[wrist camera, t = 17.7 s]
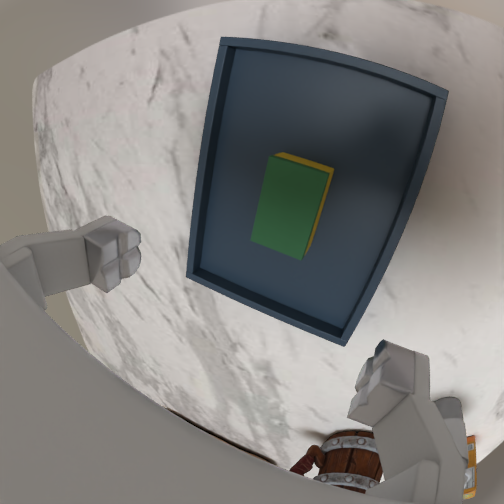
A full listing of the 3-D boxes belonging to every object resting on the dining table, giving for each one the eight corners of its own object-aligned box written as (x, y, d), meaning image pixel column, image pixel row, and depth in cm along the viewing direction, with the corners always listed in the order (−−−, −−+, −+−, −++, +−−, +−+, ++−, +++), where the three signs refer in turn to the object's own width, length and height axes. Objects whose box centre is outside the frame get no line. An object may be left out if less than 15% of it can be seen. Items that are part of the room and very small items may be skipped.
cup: (416, 424, 29) (405, 502, 19) (419, 395, 27) (411, 483, 18) (464, 418, 26) (463, 495, 16) (473, 388, 24) (478, 474, 14)
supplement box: (475, 443, 26) (474, 497, 18) (455, 448, 28) (451, 502, 20) (476, 433, 26) (476, 491, 18) (455, 439, 28) (452, 496, 19)
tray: (235, 42, 21) (220, 36, 19) (442, 94, 16) (449, 90, 14) (198, 266, 33) (185, 277, 31) (348, 331, 28) (344, 347, 26)
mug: (374, 470, 37) (338, 539, 25) (308, 436, 42) (260, 502, 31) (413, 443, 31) (379, 530, 19) (335, 405, 36) (283, 487, 25)
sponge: (282, 151, 23) (268, 155, 20) (334, 168, 21) (328, 174, 19) (264, 228, 26) (250, 240, 24) (310, 245, 25) (301, 261, 22)
